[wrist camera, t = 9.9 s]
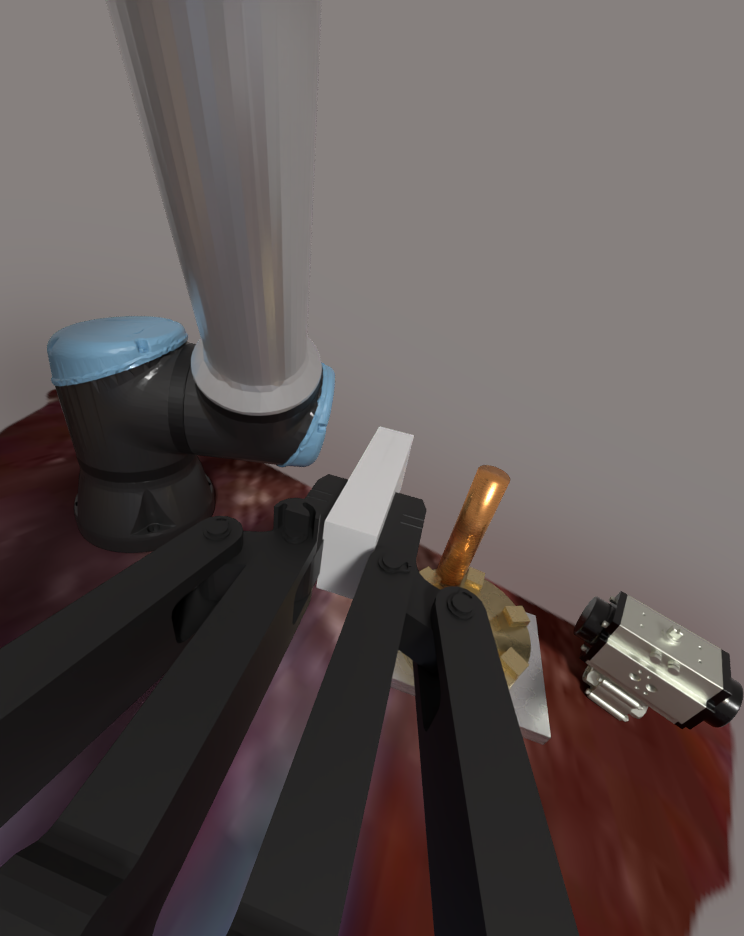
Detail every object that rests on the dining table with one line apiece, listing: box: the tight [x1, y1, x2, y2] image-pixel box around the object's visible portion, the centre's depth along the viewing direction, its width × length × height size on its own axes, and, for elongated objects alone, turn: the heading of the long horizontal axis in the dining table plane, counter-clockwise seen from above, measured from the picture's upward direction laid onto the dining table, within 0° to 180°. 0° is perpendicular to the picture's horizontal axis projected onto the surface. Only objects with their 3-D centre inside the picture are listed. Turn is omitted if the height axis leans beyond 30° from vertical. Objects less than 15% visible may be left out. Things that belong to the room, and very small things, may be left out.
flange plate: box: [390, 613, 551, 745], centre depth 40 cm, size 18×13×2 cm
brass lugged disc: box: [402, 465, 531, 689], centre depth 35 cm, size 14×13×17 cm
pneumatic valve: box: [574, 591, 743, 729], centre depth 35 cm, size 6×12×12 cm, turn 51°
